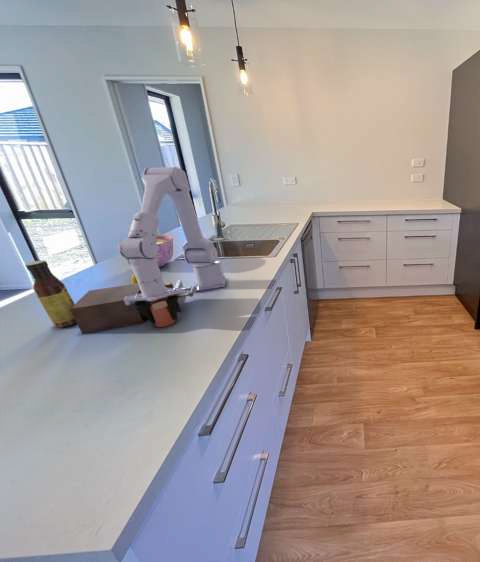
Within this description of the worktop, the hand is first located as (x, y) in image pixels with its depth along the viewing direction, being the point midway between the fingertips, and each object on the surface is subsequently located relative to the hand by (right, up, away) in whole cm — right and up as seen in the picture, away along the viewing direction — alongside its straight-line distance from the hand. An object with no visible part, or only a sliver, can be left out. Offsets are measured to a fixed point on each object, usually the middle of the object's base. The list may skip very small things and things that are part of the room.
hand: (164, 320), depth 90 cm
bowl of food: (-37, +19, +46) cm, 62 cm away
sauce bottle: (-31, -1, +2) cm, 31 cm away
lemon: (-23, +8, +22) cm, 32 cm away
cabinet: (-17, 0, +4) cm, 17 cm away
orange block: (0, -1, +1) cm, 1 cm away
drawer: (-5, +3, +8) cm, 10 cm away
